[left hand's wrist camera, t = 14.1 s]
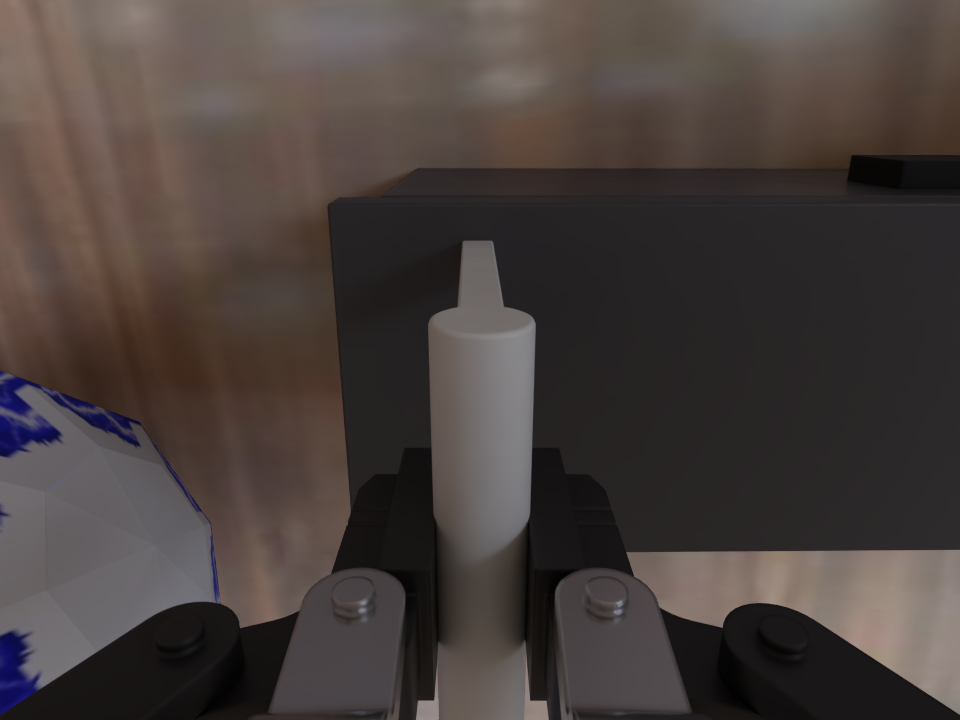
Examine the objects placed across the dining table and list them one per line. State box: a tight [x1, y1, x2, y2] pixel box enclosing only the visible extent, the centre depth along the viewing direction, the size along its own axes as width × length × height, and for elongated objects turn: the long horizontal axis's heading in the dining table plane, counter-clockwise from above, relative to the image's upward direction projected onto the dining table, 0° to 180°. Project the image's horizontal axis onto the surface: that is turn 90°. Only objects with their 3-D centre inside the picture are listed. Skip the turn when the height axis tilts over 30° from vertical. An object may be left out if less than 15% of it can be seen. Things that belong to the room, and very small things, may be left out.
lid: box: [328, 197, 960, 720], centre depth 14 cm, size 18×9×9 cm, turn 90°
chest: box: [380, 168, 960, 198], centre depth 22 cm, size 17×9×9 cm, turn 90°
